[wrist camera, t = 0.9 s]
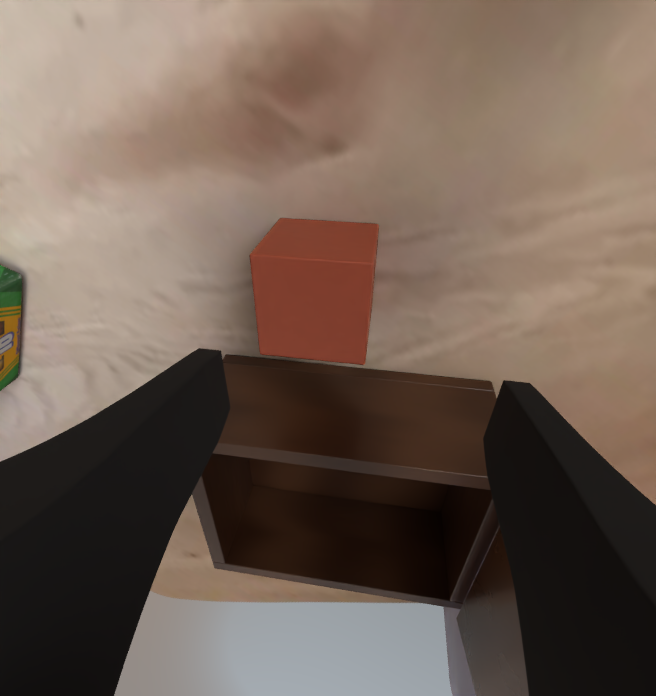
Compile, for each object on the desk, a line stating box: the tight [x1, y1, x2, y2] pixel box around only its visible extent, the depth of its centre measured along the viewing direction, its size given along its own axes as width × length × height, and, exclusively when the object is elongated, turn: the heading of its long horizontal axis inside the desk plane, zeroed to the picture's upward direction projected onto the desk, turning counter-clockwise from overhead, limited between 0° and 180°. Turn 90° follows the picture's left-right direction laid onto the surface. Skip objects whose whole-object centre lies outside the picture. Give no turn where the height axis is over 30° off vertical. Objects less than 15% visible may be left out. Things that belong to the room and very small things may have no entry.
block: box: [250, 218, 379, 365], centre depth 17 cm, size 4×4×4 cm
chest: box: [192, 355, 500, 609], centre depth 22 cm, size 15×12×6 cm
